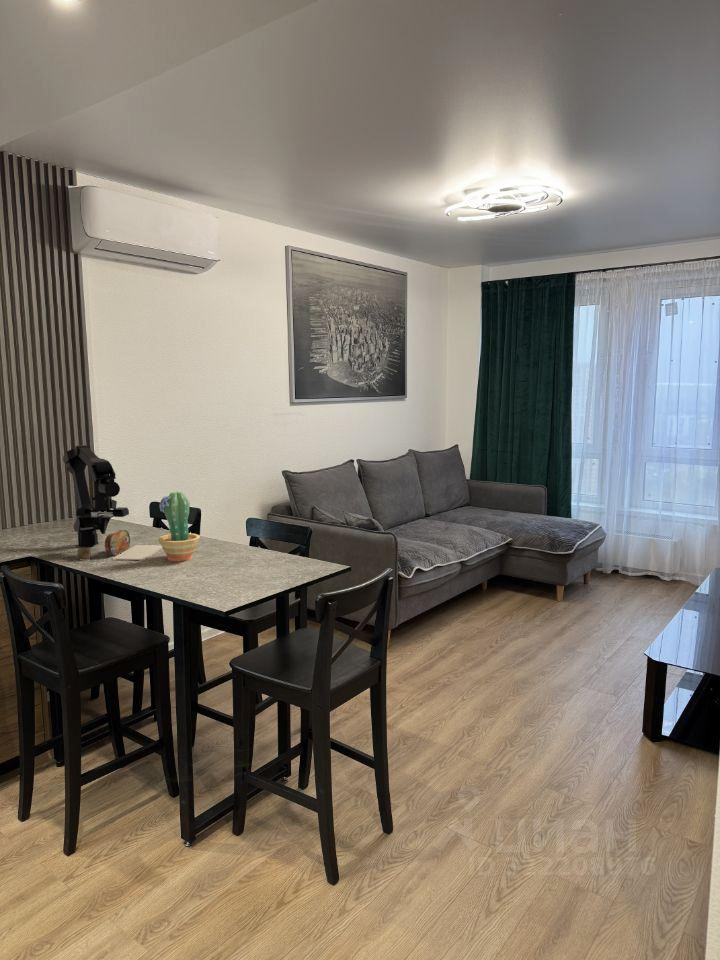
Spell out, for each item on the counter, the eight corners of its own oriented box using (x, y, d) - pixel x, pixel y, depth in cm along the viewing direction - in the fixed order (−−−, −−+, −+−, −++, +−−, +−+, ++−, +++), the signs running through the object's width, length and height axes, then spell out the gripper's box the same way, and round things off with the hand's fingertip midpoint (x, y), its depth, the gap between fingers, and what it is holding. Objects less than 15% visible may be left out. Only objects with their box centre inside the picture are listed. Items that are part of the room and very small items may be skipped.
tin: (111, 558, 247) (110, 536, 246) (103, 557, 248) (102, 535, 247) (131, 548, 262) (130, 528, 261) (123, 548, 262) (122, 527, 261)
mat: (111, 560, 244) (111, 558, 244) (135, 546, 266) (135, 545, 265) (143, 560, 243) (143, 559, 243) (165, 547, 265) (165, 545, 265)
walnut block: (77, 560, 243) (77, 550, 243) (79, 558, 247) (78, 547, 246) (89, 560, 244) (89, 549, 244) (90, 557, 248) (90, 547, 247)
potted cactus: (167, 552, 255) (164, 489, 252) (206, 553, 254) (204, 489, 251) (152, 563, 240) (149, 495, 237) (194, 563, 239) (192, 495, 236)
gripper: (133, 491, 260) (135, 530, 262) (87, 490, 261) (89, 528, 263) (121, 495, 249) (123, 536, 251) (73, 494, 250) (75, 534, 252)
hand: (103, 533), depth 254 cm, fingers closed
